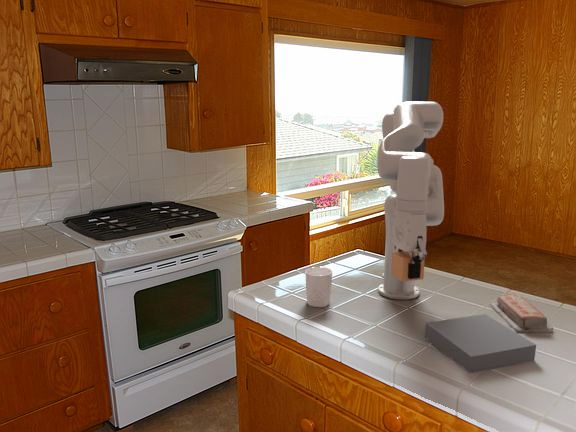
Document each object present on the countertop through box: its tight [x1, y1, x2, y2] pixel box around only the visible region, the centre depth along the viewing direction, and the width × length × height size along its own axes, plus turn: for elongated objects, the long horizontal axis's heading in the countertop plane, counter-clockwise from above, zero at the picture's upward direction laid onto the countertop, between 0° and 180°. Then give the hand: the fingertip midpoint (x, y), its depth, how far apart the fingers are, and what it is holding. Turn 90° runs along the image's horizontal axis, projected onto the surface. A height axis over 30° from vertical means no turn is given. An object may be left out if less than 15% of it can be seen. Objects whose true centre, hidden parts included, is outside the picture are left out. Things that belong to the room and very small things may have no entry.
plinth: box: [424, 313, 537, 374], centre depth 125 cm, size 18×18×4 cm
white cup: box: [305, 266, 333, 308], centre depth 151 cm, size 8×8×10 cm
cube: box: [391, 251, 426, 281], centre depth 131 cm, size 6×6×6 cm
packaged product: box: [489, 292, 554, 333], centre depth 142 cm, size 18×5×10 cm
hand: (407, 273), depth 132 cm, fingers closed on cube, 6 cm apart
